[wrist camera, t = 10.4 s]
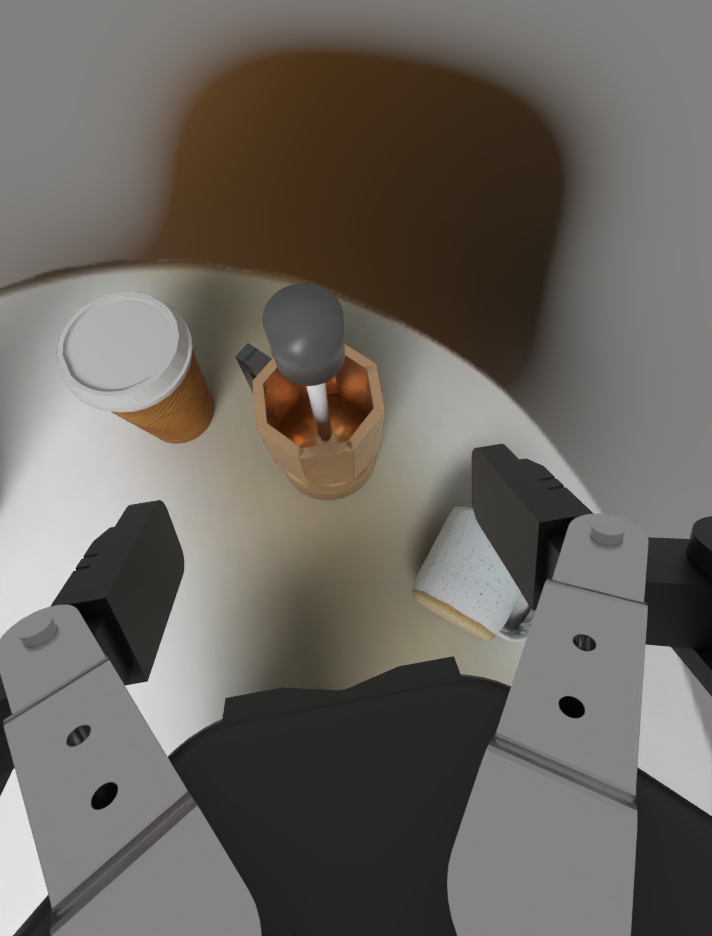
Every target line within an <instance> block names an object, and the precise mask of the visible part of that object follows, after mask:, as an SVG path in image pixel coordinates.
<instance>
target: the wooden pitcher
mask: <svg viewBox="0 0 712 936" xmlns="http://www.w3.org/2000/svg"><path fill="white" fill-rule="evenodd" d="M235 357H236V359H237V361H238V363H239V365H240V367H241V369H242V371H243V373H244V376H245V378H246V380H247V382H248V384H249V386H250V388H251V390H252V392H253V394H254V405H255V415H256V426H257V430H258V432H259V434H260V435H261V437H262V439H263V441H264V443H265V444H266V446H267V448H268V450H269V452H270V454H271V455H272V457H273V459H274V461H275V463H277V464H278V465H279V466H281V467H282V468H283V469H284V471H285V473H286V475H287V477H288V478H289V480H290V481H291V483H292V484H293V485H294V486H295V487H296V488H297V489H298V490H299V491H301V492H302V493H304V494H306V495H308V496H310V497H313V498H316V499H321V500H336V499H340V498H344V497H346V496H349V495H351V494H353V493H354V492H356V491H357V490H359V489H360V488H361V487H362V486H363V485H364V484H365V483H366V482H367V480H368V479H369V477H370V475H371V473H372V471H373V468H374V465H375V459H376V452H377V451H378V450H379V448H380V446H381V438H382V430H383V421H384V413H385V408H384V403H383V397H382V392H381V387H380V381H379V376H378V371H377V365H376V363H374V362H372V361H371V360H369V359H368V358H366V357H365V356H363V355H361V354H360V353H358V352H357V351H355V350H354V349H352V348H351V347H349V346H347V345H346V344H345V360H344V363H343V366H342V368H341V370H340V371H339V372H338V374H337V375H336V376H335V377H333V378H332V379H331V380H329V381H327V382H325V387H326V394H327V400H328V407H329V414H330V420H331V427H332V434H331V436H330V437H328V438H321V437H319V435H318V433H317V429H316V425H315V421H314V416H313V412H312V408H311V403H310V399H309V395H308V390H307V386H302V385H298V384H295V383H293V382H291V381H289V380H287V379H286V378H285V377H284V376H283V375H282V374H281V373H280V371H279V370H278V368H277V365H276V362H275V359H274V357H273V359H271V358H270V357H268V356H267V355H265V354H264V353H262V352H261V351H259V350H258V349H256V348H255V347H253V346H252V345H250V344H249V343H247V345H246V346H245V347H244V348H243V349H242V350H241V351H240V352H239V353H238V354H237V355H236V356H235Z"/></svg>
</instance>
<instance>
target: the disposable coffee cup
mask: <svg viewBox="0 0 712 936" xmlns="http://www.w3.org/2000/svg"><path fill="white" fill-rule="evenodd" d="M192 345H193V344H192V338H191V334H190V331H189V328H188V325H187V324H186V322H185V321H184V319H183V318H182V316H181V315H180V314H179V313H178V312H177V311H176V310H175V309H174V308H172V307H170V306H169V305H167V304H165V303H163V302H161V301H159V300H158V299H156V298H154V297H152V296H150V295H147V294H143V293H139V292H116V293H112V294H108V295H105V296H102V297H99V298H96V299H94V300H93V301H91V302H89V303H88V304H86V305H85V306H83V307H82V308H81V309H79V310H78V311H77V312H76V313H75V314H74V315H73V316H72V317H71V319H70V320H69V321H68V322H67V324H66V325H65V327H64V329H63V331H62V333H61V335H60V338H59V342H58V348H57V357H58V363H59V367H60V369H61V371H62V375H63V378H64V380H65V383H66V385H67V386H68V388H69V389H70V391H71V392H72V393H73V394H74V395H75V396H76V397H77V398H78V399H80V400H81V401H82V402H84V403H86V404H88V405H90V406H92V407H94V408H96V409H100V410H105V411H110V412H112V413H114V414H116V415H118V416H119V417H122V418H123V419H125V420H127V421H128V422H130V423H132V424H134V425H136V426H138V427H139V428H141V429H143V430H145V431H146V432H149V433H150V434H152V435H154V436H156V437H157V438H159V439H161V440H163V441H165V442H169V443H185V442H188V441H191V440H193V439H195V438H197V437H198V436H200V435H201V434H202V433H203V432H204V431H205V430H206V429H207V428H208V426H209V424H210V422H211V420H212V417H213V412H214V409H213V402H212V399H211V396H210V394H209V391H208V389H207V386H206V383H205V381H204V378H203V376H202V373H201V371H200V368H199V365H198V363H197V360H196V358H195V355H194V353H193V350H192Z"/></svg>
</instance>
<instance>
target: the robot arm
mask: <svg viewBox="0 0 712 936" xmlns="http://www.w3.org/2000/svg"><path fill="white" fill-rule="evenodd" d="M472 505H473V511H474V515H475V518H476V520H477V522H478V524H479V526H480V527H481V529H482V530H483V532H484V534H485V535H486V537H487V539H488V540H489V542H490V543H491V545H492V547H493V548H494V550H495V551H496V553H497V555H498V556H499V558H500V559H501V561H502V563H503V564H504V566H505V567H506V569H507V571H508V572H509V574H510V575H511V577H512V579H513V580H514V582H515V583H516V585H517V587H518V588H519V590H520V591H521V593H522V595H523V596H524V598H525V599H526V601H527V603H528V604H529V606H530V607H531V609H532V611H534V610H536V612H535V615H534V618H533V621H532V624H531V627H530V630H529V633H528V637H527V640H526V643H525V646H524V649H523V652H522V655H521V658H520V661H519V664H518V667H517V670H516V673H515V676H514V680H513V683H512V686H508V685H506V684H503V683H501V682H498V681H495V680H491V679H487V678H484V677H478V676H472V675H461V674H460V672H459V669H458V666H457V664H456V661H455V658H454V656H453V657H448V658H442V659H437V660H432V661H426V662H421V663H415V664H410V665H404V666H399V667H396V668H394V669H392V670H389V671H387V672H385V673H383V674H380V675H378V676H376V677H373V678H371V679H369V680H366V681H364V682H362V683H359V684H357V685H355V686H352V687H350V688H348V689H345V690H317V689H298V688H278V689H273V690H267V691H262V692H257V693H251V694H246V695H240V696H235V697H229V698H226V700H225V706H224V713H223V719H221V720H219V721H217V722H215V723H213V724H211V725H209V726H207V727H206V728H204V729H202V730H201V731H199V732H198V733H196V734H195V735H193V736H192V737H190V738H189V739H187V740H186V741H185V742H184V743H183V744H181V745H180V746H179V747H178V748H176V749H175V750H174V751H173V752H172V753H171V754H170V755H169V756H168V757H167V755H166V754H165V752H164V750H163V749H162V747H161V745H160V744H159V742H158V740H157V739H156V737H155V735H154V734H153V732H152V730H151V729H150V727H149V725H148V724H147V722H146V720H145V719H144V717H143V715H142V714H141V712H140V710H139V709H138V707H137V705H136V704H135V702H134V700H133V699H132V697H131V695H130V694H129V692H128V690H127V689H126V687H125V685H130V684H136V683H141V682H147V681H148V679H149V676H150V673H151V670H152V667H153V664H154V661H155V658H156V655H157V652H158V649H159V645H160V642H161V639H162V636H163V633H164V630H165V627H166V624H167V621H168V618H169V615H170V612H171V609H172V606H173V603H174V600H175V597H176V594H177V591H178V588H179V585H180V582H181V579H182V576H183V573H184V556H183V551H182V548H181V545H180V543H179V540H178V537H177V534H176V532H175V529H174V526H173V524H172V521H171V518H170V516H169V513H168V510H167V508H166V506H165V504H164V503H163V502H162V501H161V500H157V501H151V502H145V503H139V504H133V505H129V506H128V507H127V508H126V510H125V511H124V513H123V514H122V516H121V518H120V519H119V521H118V523H117V524H116V526H115V527H111V528H109V529H108V530H107V531H105V532H104V533H103V534H102V535H100V536H99V537H98V538H97V539H96V540H94V541H93V543H92V544H91V546H90V547H89V549H88V550H87V552H86V553H85V555H84V559H81V561H80V562H79V564H78V565H77V567H76V571H73V573H72V574H71V576H70V577H69V579H68V580H67V582H66V583H65V585H64V586H63V588H62V590H61V591H60V593H59V594H58V596H57V597H56V599H55V600H54V602H53V603H52V605H51V606H50V607H47V608H44V609H41V610H39V611H37V612H34V613H32V614H30V615H29V616H27V617H25V618H23V619H22V620H20V621H19V622H17V623H16V624H15V625H13V626H12V627H11V628H10V629H9V630H8V631H7V632H6V633H5V634H4V635H3V636H2V637H1V639H0V796H1V793H2V791H3V789H4V787H5V785H6V783H7V781H8V779H9V777H10V774H11V772H12V770H13V769H14V768H15V770H16V774H17V778H18V782H19V785H20V789H21V793H22V797H23V800H24V804H25V808H26V812H27V815H28V819H29V823H30V827H31V830H32V834H33V838H34V842H35V845H36V849H37V853H38V857H39V860H40V864H41V868H42V872H43V875H44V879H45V883H46V887H47V890H48V896H47V897H46V898H45V899H44V900H43V901H42V902H41V904H40V905H39V906H38V907H37V908H36V909H35V911H34V912H33V913H32V914H31V915H30V916H29V918H28V919H27V920H26V921H25V922H24V923H23V925H22V926H21V927H20V928H19V929H18V930H17V932H16V933H15V934H14V935H13V936H712V816H711V815H709V814H708V813H706V812H705V811H703V810H701V809H700V808H698V807H697V806H695V805H694V804H692V803H691V802H689V801H688V800H686V799H685V798H683V797H682V796H680V795H679V794H677V793H676V792H674V791H673V790H671V789H670V788H668V787H667V786H665V785H664V784H662V783H661V782H659V781H657V780H656V779H654V778H653V777H651V776H650V775H648V774H647V773H645V772H644V771H642V770H641V769H639V768H638V767H637V765H638V749H639V734H640V719H641V704H642V689H643V674H644V659H645V644H647V645H658V646H669V647H672V649H673V650H674V651H675V652H676V653H677V655H678V656H679V657H680V658H681V660H682V661H683V662H684V663H685V664H686V666H687V667H688V668H689V669H690V671H691V672H692V673H693V674H694V675H695V677H696V678H697V679H698V680H699V682H700V683H701V684H702V685H703V686H704V688H705V689H706V690H707V691H708V692H709V694H710V695H711V696H712V516H710V517H705V518H702V519H700V520H698V521H696V522H695V524H694V526H693V528H692V532H691V535H690V539H673V538H672V539H671V538H649V537H648V536H647V534H646V533H645V531H644V530H643V529H642V528H641V527H639V526H638V525H637V524H635V523H633V522H631V521H629V520H627V519H624V518H621V517H618V516H614V515H608V514H593V513H592V512H591V511H590V510H589V509H588V508H587V507H586V506H585V505H584V504H583V503H582V502H581V501H580V500H579V499H578V498H577V497H575V496H574V495H573V494H572V493H571V492H570V491H569V490H568V489H567V488H564V485H563V484H562V483H561V482H560V481H559V480H558V479H555V477H554V476H553V475H552V474H551V473H550V472H549V471H548V470H547V469H546V468H545V467H544V466H542V465H540V464H537V463H535V462H533V461H531V460H528V459H520V460H519V459H518V458H517V457H516V456H515V455H514V454H513V453H512V452H511V451H510V450H509V449H508V448H507V447H506V446H505V445H504V444H498V445H491V446H485V447H479V448H474V449H473V452H472Z"/></svg>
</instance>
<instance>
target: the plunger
mask: <svg viewBox="0 0 712 936" xmlns="http://www.w3.org/2000/svg"><path fill="white" fill-rule="evenodd" d="M263 326H264V329H265V332H266V335H267V338H268V341H269V344H270V347H271V350H272V353H273V356H274V359H275V362H276V365H277V368H278V370H279V371H280V373H281V374H282V375H283V376H284V377H285V378H286V379H287V380H289V381H291V382H293V383H295V384H298V385H302V386H307V390H308V395H309V399H310V403H311V408H312V412H313V416H314V421H315V425H316V429H317V433H318V435H319V437H321V438H328V437H330V436H331V434H332V427H331V420H330V414H329V407H328V400H327V394H326V387H325V382H327V381H329V380H331V379H332V378H333V377H335V376H336V375H337V374H338V372H339V371H340V370H341V368H342V366H343V363H344V360H345V343H344V325H343V311H342V307H341V305H340V303H339V301H338V299H337V298H336V297H335V295H333V294H332V293H331V292H330V291H329V290H327V289H325V288H323V287H321V286H318V285H315V284H308V283H302V284H294V285H291V286H288V287H285V288H283V289H281V290H280V291H278V292H277V293H275V294H274V295H273V296H272V297H271V298H270V300H269V301H268V303H267V304H266V306H265V309H264V312H263Z"/></svg>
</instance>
